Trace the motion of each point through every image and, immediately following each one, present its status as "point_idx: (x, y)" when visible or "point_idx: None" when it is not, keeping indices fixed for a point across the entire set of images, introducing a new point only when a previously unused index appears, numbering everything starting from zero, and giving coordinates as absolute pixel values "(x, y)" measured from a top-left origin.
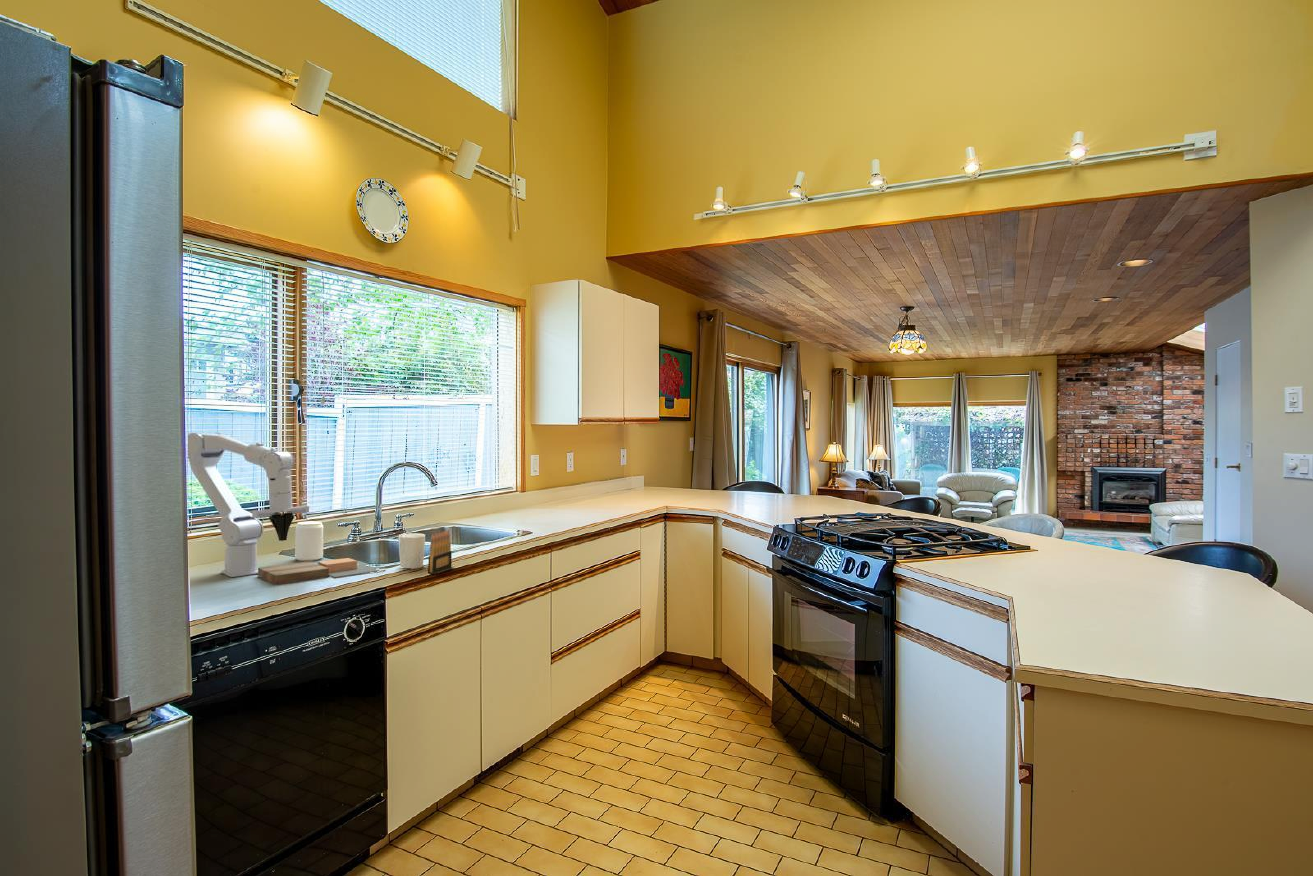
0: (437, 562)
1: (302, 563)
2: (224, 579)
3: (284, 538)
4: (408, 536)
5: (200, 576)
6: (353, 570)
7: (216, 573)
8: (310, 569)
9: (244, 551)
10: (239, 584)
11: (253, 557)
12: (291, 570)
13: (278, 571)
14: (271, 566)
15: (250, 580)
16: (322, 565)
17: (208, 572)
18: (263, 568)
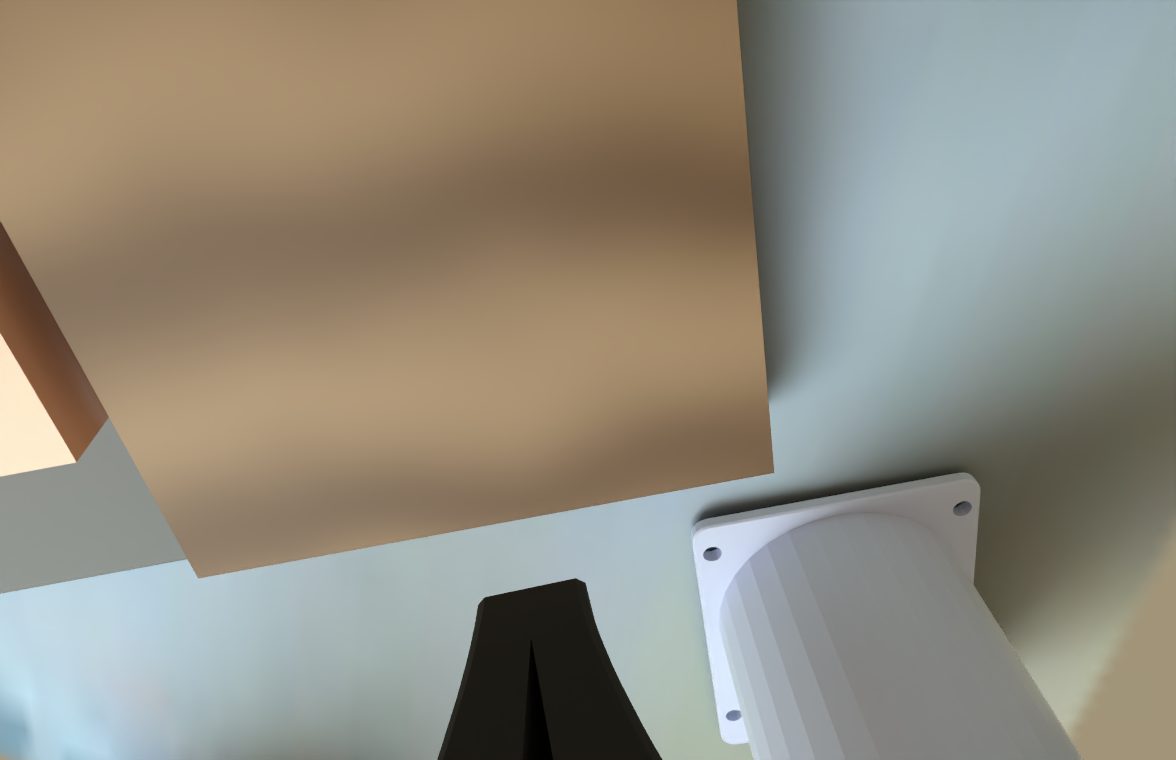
0: None
1: (279, 490)
2: (1037, 429)
3: (522, 616)
4: None
5: (1124, 625)
6: None
7: None
8: (159, 10)
9: (956, 709)
10: (1029, 95)
11: (809, 668)
12: (443, 90)
13: (619, 109)
14: (633, 477)
15: (865, 258)
16: (14, 316)
17: None
18: (736, 406)
